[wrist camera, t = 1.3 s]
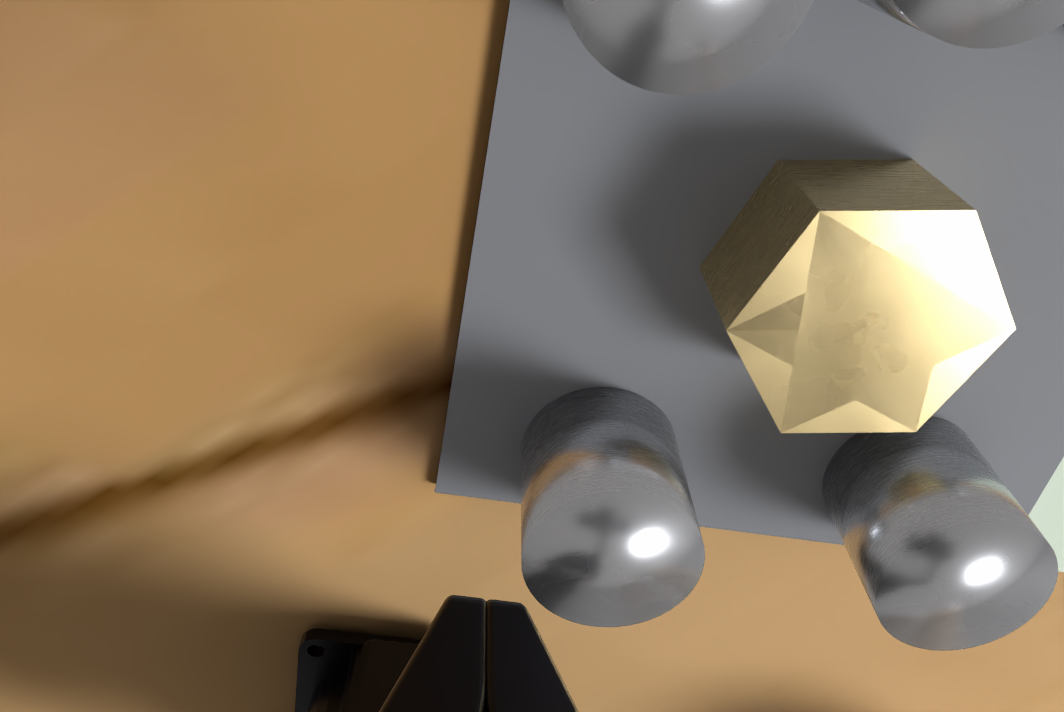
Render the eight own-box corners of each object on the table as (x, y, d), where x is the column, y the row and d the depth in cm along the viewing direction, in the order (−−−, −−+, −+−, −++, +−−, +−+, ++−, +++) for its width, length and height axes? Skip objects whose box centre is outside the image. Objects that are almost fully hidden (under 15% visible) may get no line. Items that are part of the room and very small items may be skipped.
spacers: (932, 556, 25) (999, 673, 21) (453, 494, 23) (442, 608, 20) (1321, -157, 16) (1543, -156, 12) (589, -320, 14) (612, -370, 11)
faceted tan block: (926, 359, 21) (982, 431, 19) (689, 360, 21) (713, 433, 19) (980, 158, 19) (1054, 210, 16) (711, 159, 19) (741, 211, 16)
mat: (1154, 577, 25) (1160, 585, 25) (435, 485, 23) (434, 492, 23) (1657, -112, 17) (1675, -112, 16) (565, -361, 14) (566, -365, 14)
